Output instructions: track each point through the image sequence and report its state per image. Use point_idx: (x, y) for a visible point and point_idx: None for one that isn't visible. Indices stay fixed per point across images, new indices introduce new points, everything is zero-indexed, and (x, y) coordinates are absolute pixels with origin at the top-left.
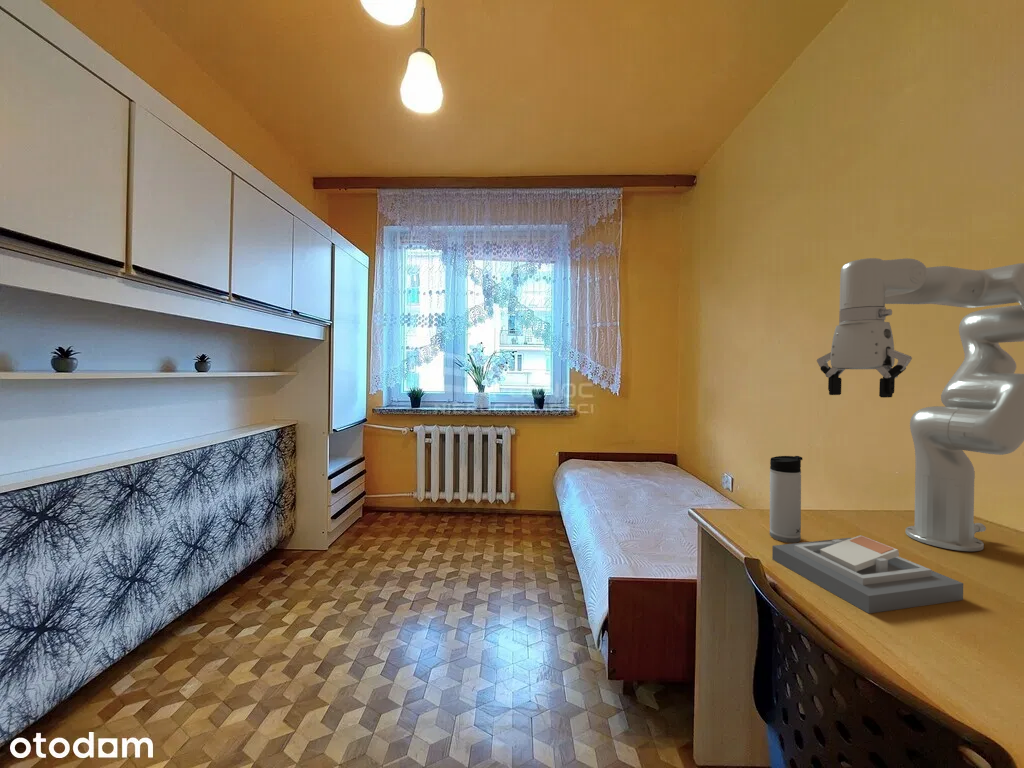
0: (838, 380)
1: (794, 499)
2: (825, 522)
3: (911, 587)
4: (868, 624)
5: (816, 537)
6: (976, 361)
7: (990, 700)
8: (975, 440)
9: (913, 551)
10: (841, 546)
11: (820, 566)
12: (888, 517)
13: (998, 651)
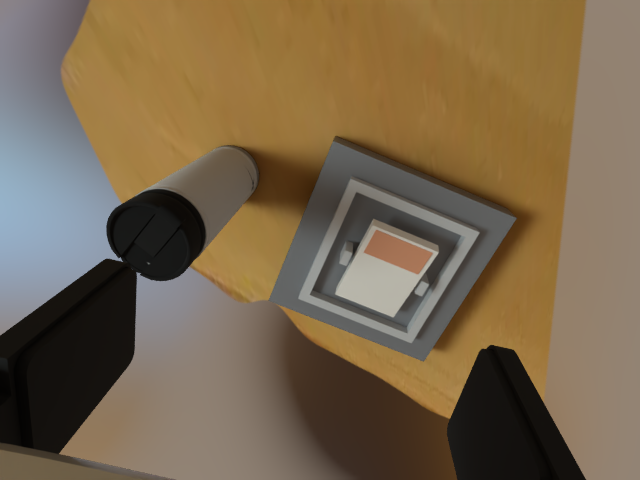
0: (50, 388)
1: (228, 220)
2: None
3: (459, 295)
4: (426, 368)
5: (264, 112)
6: None
7: None
8: None
9: (420, 14)
10: (359, 274)
11: (350, 321)
12: None
13: (538, 325)
